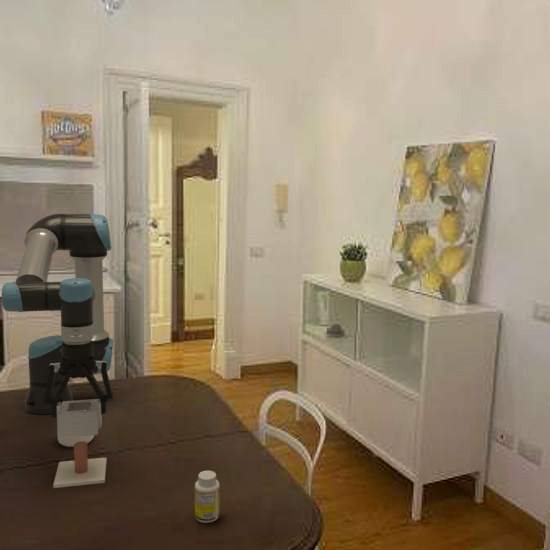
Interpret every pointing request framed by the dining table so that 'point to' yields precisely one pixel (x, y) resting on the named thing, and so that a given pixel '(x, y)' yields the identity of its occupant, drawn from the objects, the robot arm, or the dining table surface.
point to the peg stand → (80, 469)
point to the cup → (73, 440)
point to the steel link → (78, 418)
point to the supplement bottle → (207, 497)
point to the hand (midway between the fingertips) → (80, 427)
